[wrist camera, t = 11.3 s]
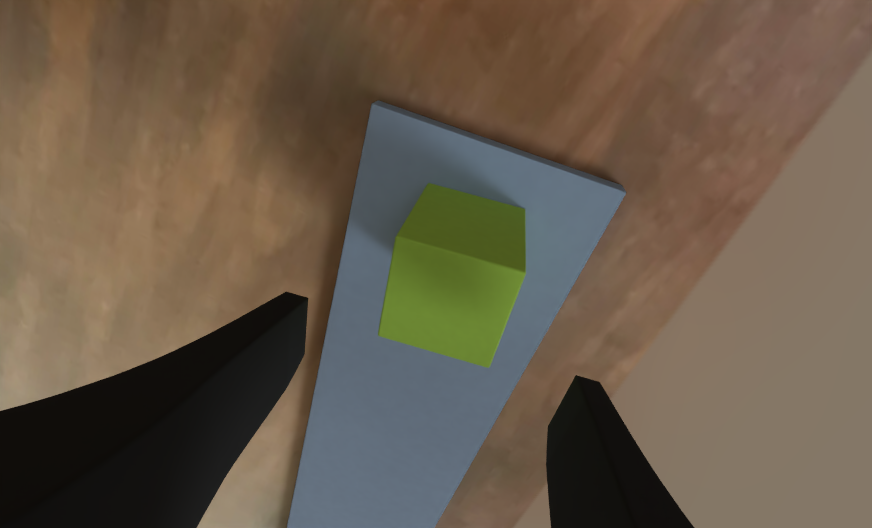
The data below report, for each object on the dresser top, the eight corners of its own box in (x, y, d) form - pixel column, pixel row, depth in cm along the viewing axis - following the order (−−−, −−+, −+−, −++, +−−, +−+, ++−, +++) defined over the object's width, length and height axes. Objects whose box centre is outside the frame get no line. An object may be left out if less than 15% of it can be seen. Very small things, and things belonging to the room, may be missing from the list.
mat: (377, 99, 16) (371, 103, 16) (622, 185, 16) (627, 192, 16) (287, 538, 35) (282, 548, 34) (400, 579, 35) (398, 590, 34)
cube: (525, 208, 17) (527, 272, 12) (497, 290, 19) (489, 369, 14) (428, 182, 17) (395, 236, 12) (410, 265, 19) (377, 336, 14)
